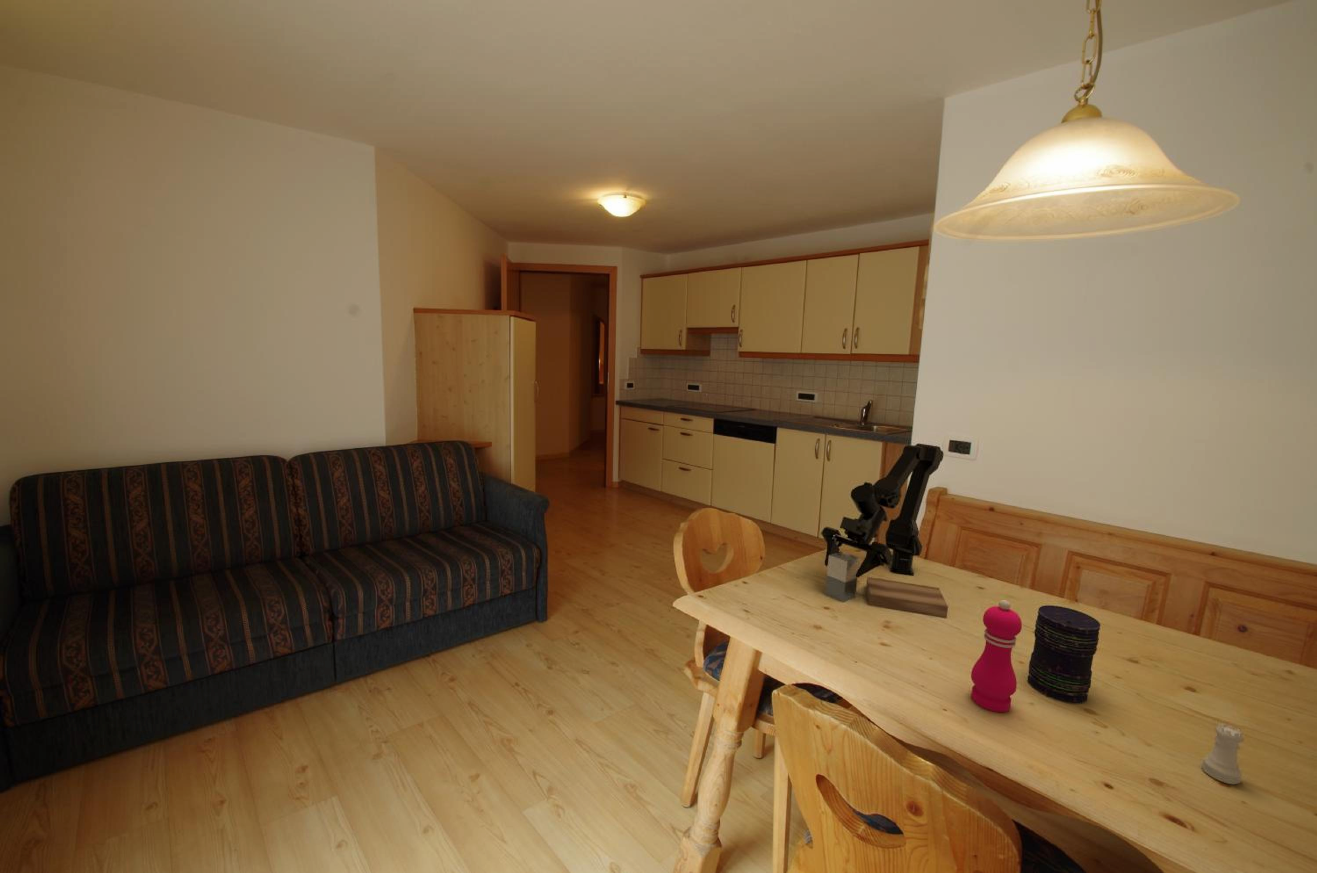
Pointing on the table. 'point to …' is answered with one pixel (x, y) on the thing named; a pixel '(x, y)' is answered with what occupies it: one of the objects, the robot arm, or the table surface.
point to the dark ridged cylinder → (1063, 653)
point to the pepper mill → (996, 659)
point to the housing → (842, 576)
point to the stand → (906, 597)
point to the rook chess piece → (1224, 755)
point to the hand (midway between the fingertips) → (840, 570)
